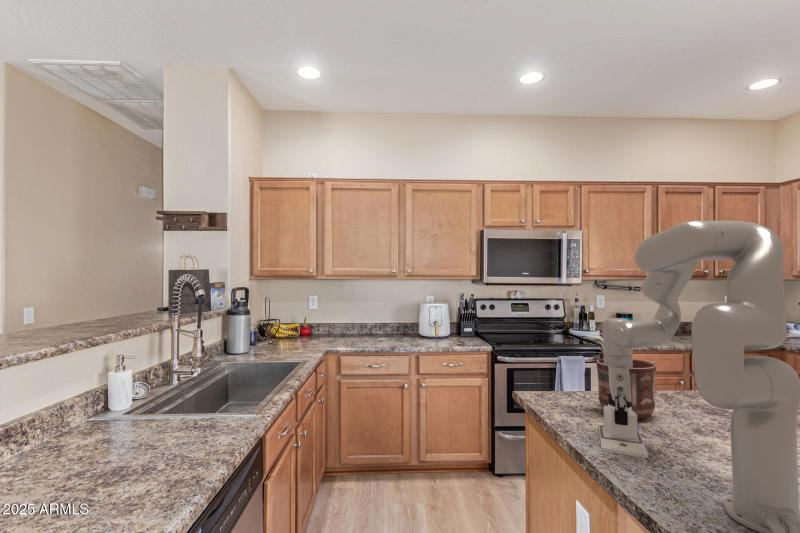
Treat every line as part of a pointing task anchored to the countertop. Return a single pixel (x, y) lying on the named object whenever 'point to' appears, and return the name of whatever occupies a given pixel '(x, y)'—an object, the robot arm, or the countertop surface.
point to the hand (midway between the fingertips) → (619, 418)
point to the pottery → (632, 387)
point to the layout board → (621, 444)
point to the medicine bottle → (620, 430)
